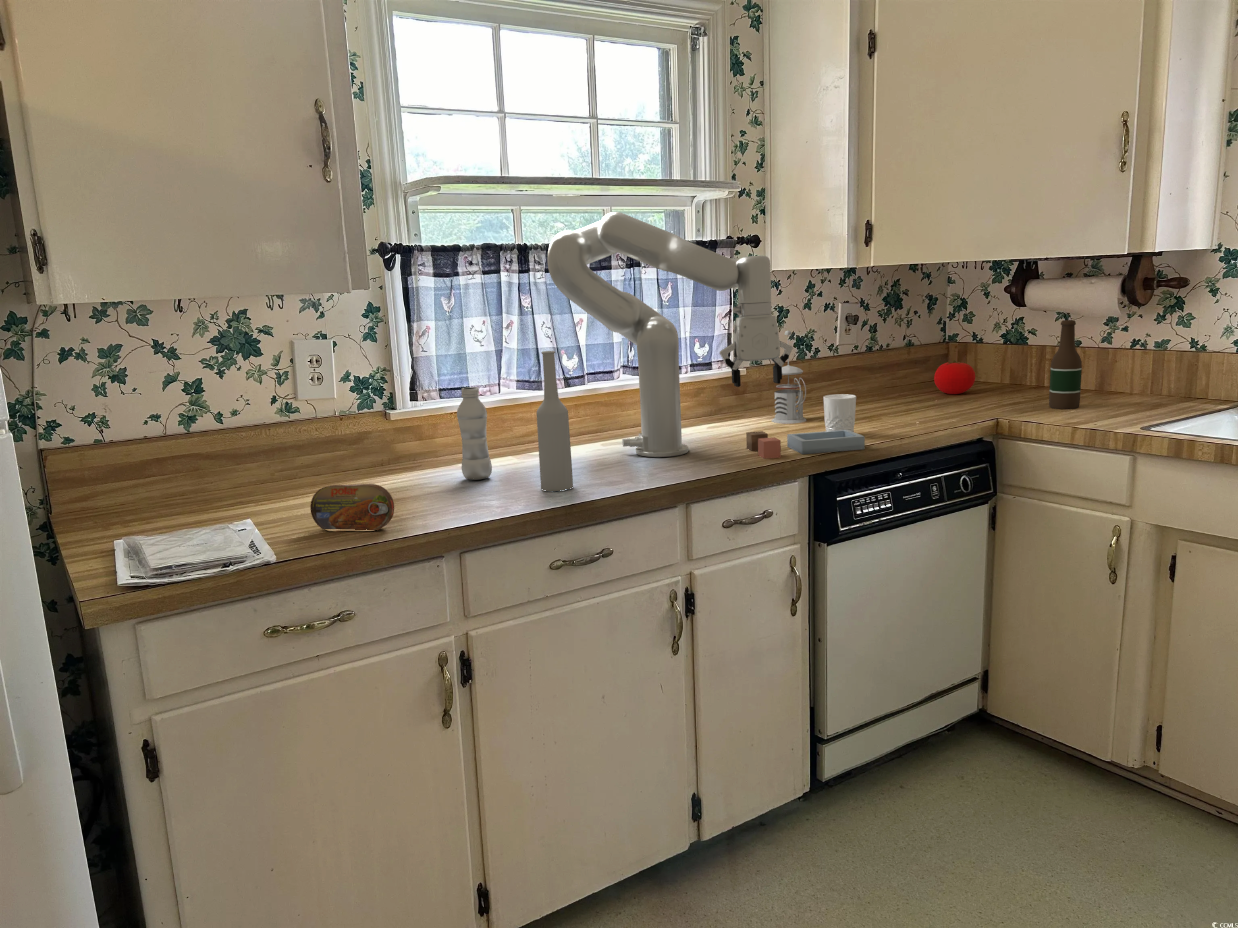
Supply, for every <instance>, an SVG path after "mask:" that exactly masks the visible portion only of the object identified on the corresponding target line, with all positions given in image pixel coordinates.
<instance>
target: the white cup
mask: <svg viewBox="0 0 1238 928" xmlns="http://www.w3.org/2000/svg"><path fill="white" fill-rule="evenodd" d="M856 403H857V396H856V395H855V394H845V393H841V394H839V393H837V394H827V395H823V412H824V413H823V414H824V416H823V417H824V426H825V431H835V430H849V431H852V432H854V431H855V422H856V409H857V407H856ZM854 433H855V432H854Z"/></svg>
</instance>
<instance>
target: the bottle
mask: <svg viewBox="0 0 1238 928" xmlns="http://www.w3.org/2000/svg"><path fill="white" fill-rule="evenodd" d="M555 353H556V351H555V350H543V351H541V353H540V354H541V355H542V368H543V401H542V402H541V404H540V405H539V407H538V408H537V411H536V424H537V425H536V426H537V428H536V429H537V430H536V431H537V442H538V443H537V445H538V457H539V458H538V460H539V462H538V463H539V477H540V490H541V489H543V490H546V491H545V492H547V491H560V490H565V489H570V488H572V487H573V488H574V480H573V463H572V450H571V448H572V447H571V435H570V419H569V410H568V408H567V407H566V406H565V404H564V403H563V402H562V401H561V399H560V397H559V390H558V383H557V371H556V370H557V369H556V359H555V358H556V357H555V355H556V354H555ZM573 488H572V489H573ZM570 490H571V489H570ZM560 492H561V491H560Z"/></svg>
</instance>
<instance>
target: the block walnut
mask: <svg viewBox="0 0 1238 928" xmlns="http://www.w3.org/2000/svg"><path fill="white" fill-rule="evenodd" d="M745 433H746V449H747V450H748V449H749V450H748V451H749V452H758V439H760V438H769V434H768V433H767V432H765V431H763V430H760V431H747V432H745Z"/></svg>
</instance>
